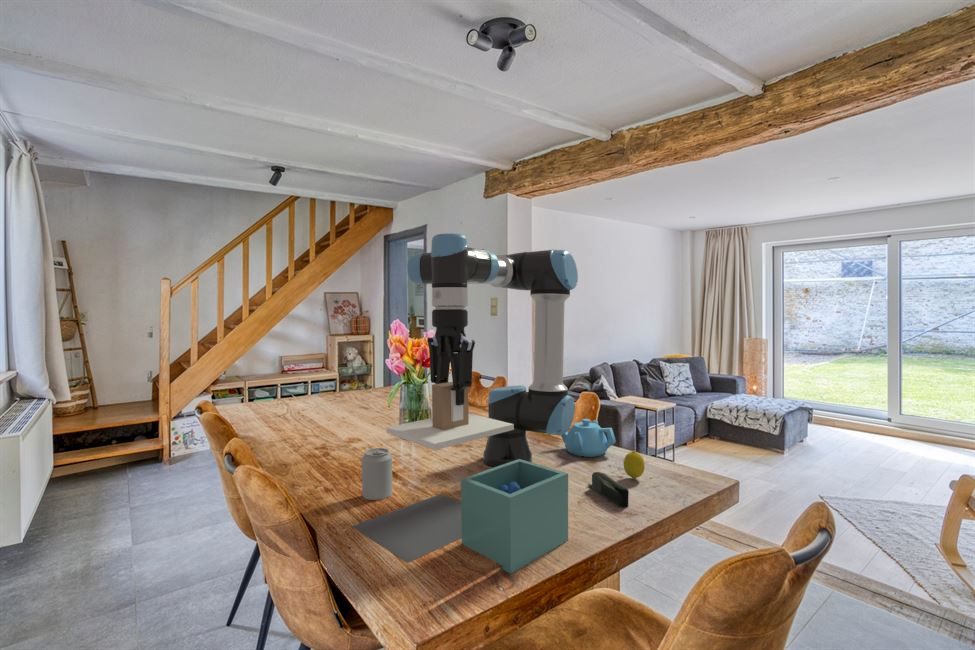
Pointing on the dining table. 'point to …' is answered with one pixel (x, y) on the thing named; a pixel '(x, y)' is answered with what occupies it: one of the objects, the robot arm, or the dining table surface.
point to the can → (376, 474)
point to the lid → (448, 423)
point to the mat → (416, 527)
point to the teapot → (588, 439)
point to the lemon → (634, 464)
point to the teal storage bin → (515, 513)
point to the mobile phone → (610, 489)
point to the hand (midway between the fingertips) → (450, 418)
